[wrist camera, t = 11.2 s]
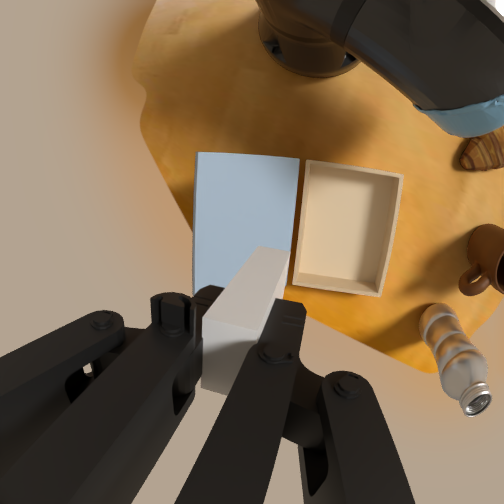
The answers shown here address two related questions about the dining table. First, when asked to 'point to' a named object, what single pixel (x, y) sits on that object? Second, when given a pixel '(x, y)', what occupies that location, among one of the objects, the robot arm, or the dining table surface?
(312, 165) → the base
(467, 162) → the croissant
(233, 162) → the lid
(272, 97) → the dining table surface
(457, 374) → the plastic bottle
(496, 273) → the mug
